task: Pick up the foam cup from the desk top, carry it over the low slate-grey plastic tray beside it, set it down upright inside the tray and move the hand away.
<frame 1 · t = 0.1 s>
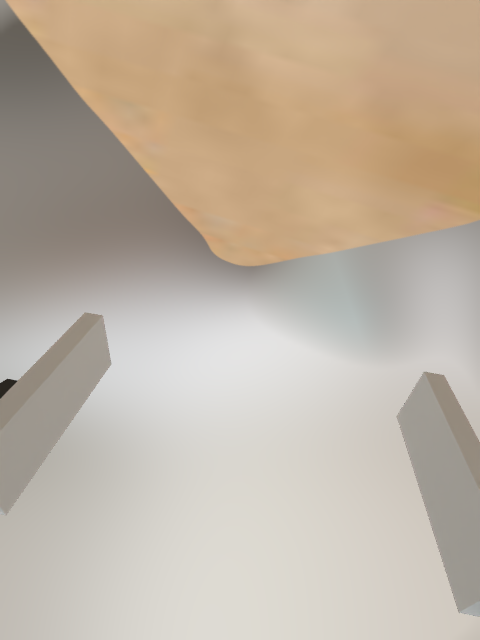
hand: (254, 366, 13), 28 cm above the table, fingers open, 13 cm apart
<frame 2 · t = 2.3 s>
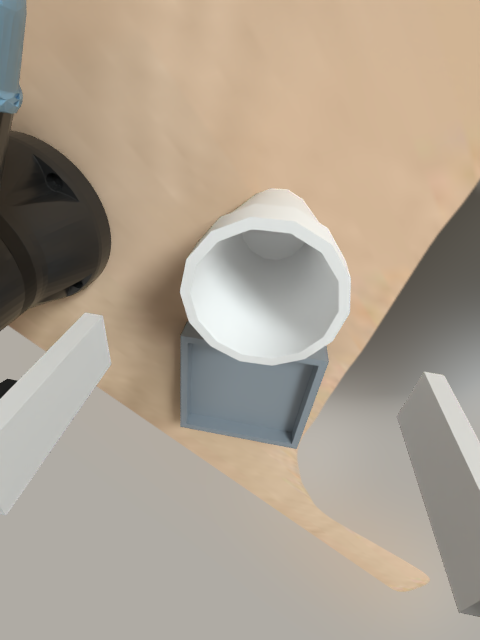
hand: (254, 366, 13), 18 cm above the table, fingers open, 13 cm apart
grey tray: (247, 382, 40), on the table
foam cup: (275, 224, 28), on the table
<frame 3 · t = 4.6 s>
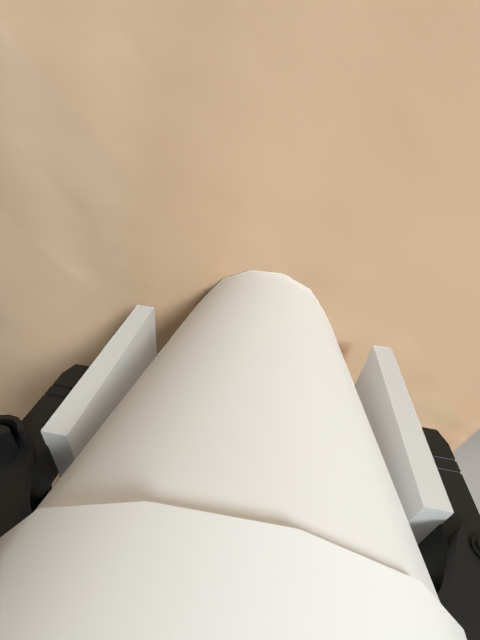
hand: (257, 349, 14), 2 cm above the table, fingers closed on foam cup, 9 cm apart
foam cup: (260, 326, 16), on the table, touching gripper
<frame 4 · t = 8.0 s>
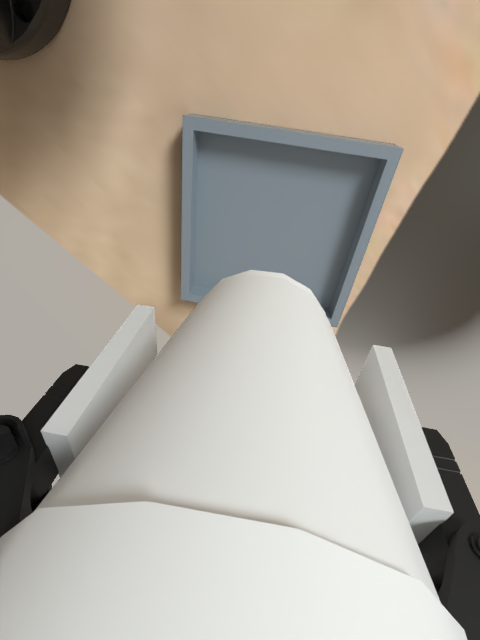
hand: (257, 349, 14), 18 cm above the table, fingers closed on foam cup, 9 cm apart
grey tray: (273, 227, 29), on the table
foam cup: (260, 326, 16), point 16 cm above the table, touching gripper
when the fingers open (4 cm above the table, at t = 11.6 s): foam cup drops 2 cm, resting on grey tray.
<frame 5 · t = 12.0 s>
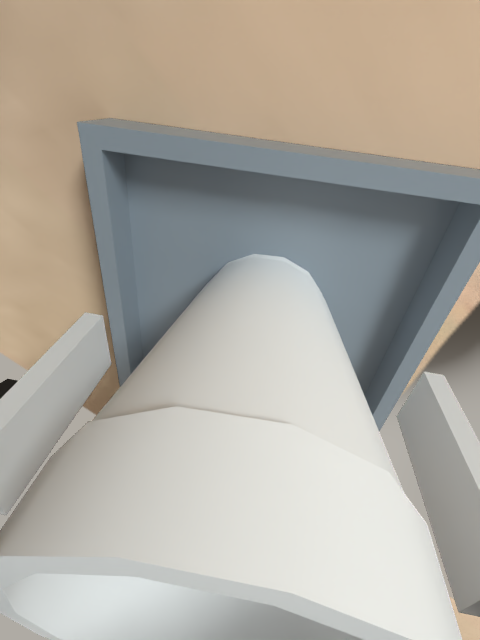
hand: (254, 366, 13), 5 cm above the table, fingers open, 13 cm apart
grey tray: (264, 302, 18), on the table
foam cup: (263, 307, 17), point 1 cm above the table, touching grey tray
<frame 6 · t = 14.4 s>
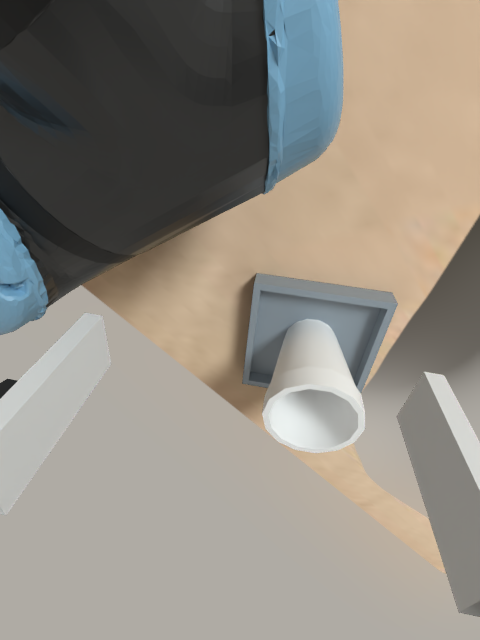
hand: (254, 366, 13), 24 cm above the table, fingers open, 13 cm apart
grey tray: (309, 336, 41), on the table
foam cup: (309, 338, 41), point 1 cm above the table, touching grey tray
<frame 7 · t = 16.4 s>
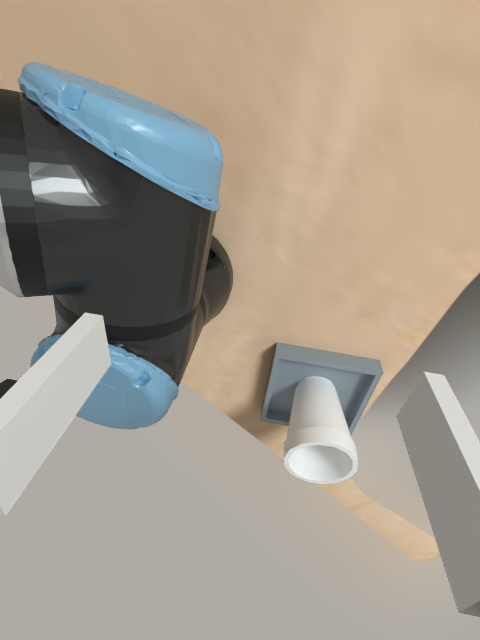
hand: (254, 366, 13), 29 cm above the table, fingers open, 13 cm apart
grey tray: (315, 386, 53), on the table
foam cup: (315, 389, 52), point 1 cm above the table, touching grey tray
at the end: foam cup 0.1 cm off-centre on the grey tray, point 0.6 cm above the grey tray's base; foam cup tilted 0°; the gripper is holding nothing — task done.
